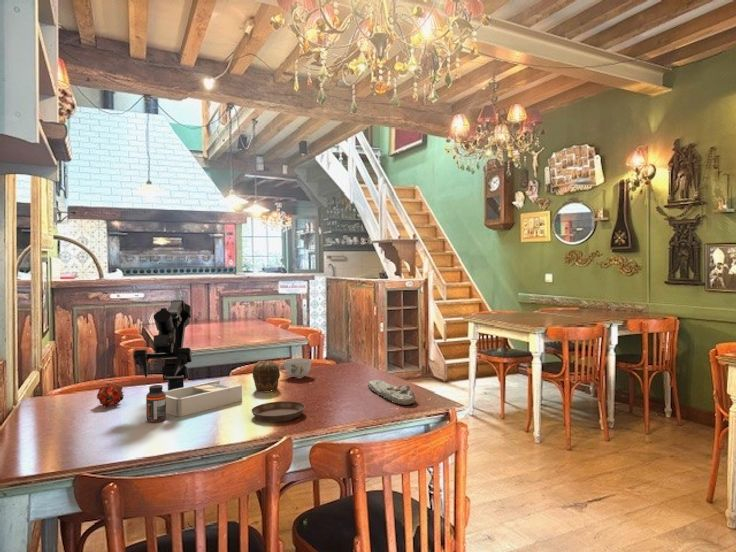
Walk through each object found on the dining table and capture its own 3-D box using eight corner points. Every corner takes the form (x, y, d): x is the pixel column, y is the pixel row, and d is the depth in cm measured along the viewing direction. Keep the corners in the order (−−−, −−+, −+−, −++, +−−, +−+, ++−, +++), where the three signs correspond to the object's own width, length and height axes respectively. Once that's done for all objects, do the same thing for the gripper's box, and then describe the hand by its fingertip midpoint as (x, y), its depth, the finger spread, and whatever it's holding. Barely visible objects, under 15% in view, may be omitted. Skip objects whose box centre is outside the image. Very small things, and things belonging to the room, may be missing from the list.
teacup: (309, 373, 236) (309, 356, 236) (314, 379, 224) (314, 361, 224) (277, 375, 232) (277, 358, 232) (280, 381, 220) (280, 363, 220)
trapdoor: (192, 395, 187) (192, 387, 187) (213, 391, 194) (213, 383, 194) (211, 400, 179) (211, 391, 179) (232, 395, 186) (232, 387, 186)
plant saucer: (243, 423, 160) (242, 414, 160) (262, 408, 177) (262, 400, 177) (296, 425, 157) (296, 415, 157) (310, 410, 175) (310, 401, 175)
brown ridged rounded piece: (247, 392, 200) (247, 362, 200) (260, 386, 211) (259, 358, 211) (273, 393, 197) (272, 363, 197) (284, 387, 208) (283, 358, 208)
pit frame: (154, 409, 176) (154, 393, 176) (217, 394, 197) (217, 380, 197) (178, 417, 167) (178, 399, 167) (242, 400, 188) (241, 385, 188)
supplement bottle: (143, 420, 164) (143, 386, 164) (161, 416, 168) (161, 383, 168) (150, 424, 159) (150, 389, 159) (169, 420, 164) (168, 385, 164)
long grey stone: (384, 388, 211) (362, 392, 207) (383, 375, 211) (361, 379, 208) (423, 403, 179) (398, 408, 175) (422, 388, 179) (397, 393, 175)
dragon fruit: (114, 404, 190) (111, 417, 179) (94, 394, 187) (89, 406, 176) (128, 386, 191) (126, 398, 180) (108, 375, 188) (104, 386, 177)
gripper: (133, 326, 174) (125, 363, 163) (190, 324, 178) (186, 361, 167) (139, 346, 182) (132, 382, 171) (193, 344, 185) (189, 379, 175)
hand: (160, 376), depth 171 cm, fingers open, 9 cm apart
